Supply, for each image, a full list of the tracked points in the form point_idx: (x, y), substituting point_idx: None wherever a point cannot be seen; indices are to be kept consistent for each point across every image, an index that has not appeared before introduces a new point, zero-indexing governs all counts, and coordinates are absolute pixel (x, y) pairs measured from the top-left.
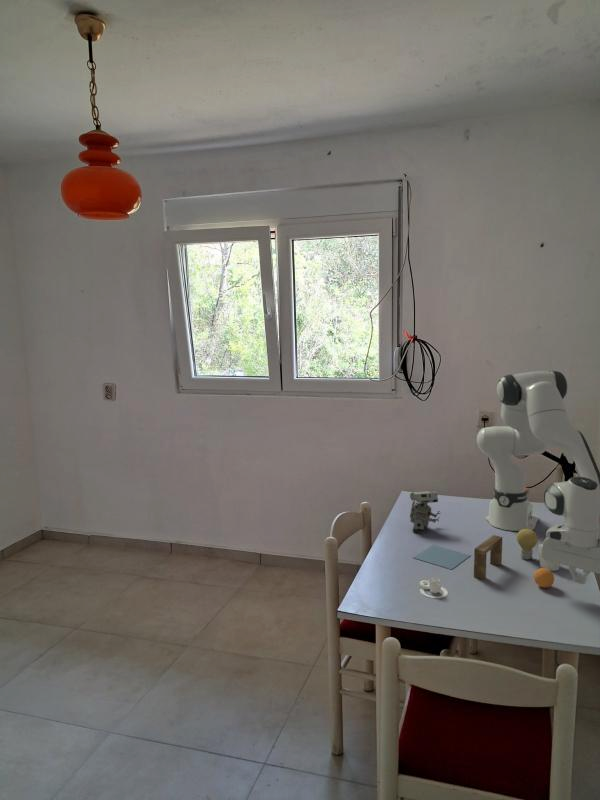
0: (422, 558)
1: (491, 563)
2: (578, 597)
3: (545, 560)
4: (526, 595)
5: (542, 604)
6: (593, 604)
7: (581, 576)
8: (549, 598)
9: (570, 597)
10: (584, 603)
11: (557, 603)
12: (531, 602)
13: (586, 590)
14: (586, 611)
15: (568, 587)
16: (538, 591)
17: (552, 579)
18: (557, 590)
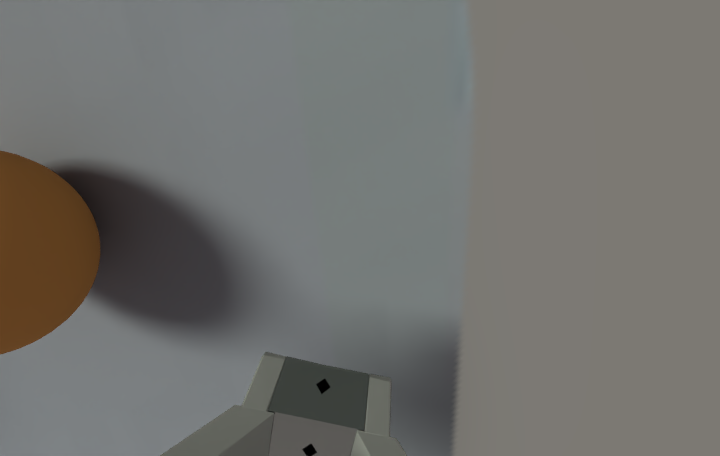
0: None
1: None
2: (346, 279)
3: None
4: (32, 388)
5: (158, 450)
6: (459, 341)
7: (334, 442)
8: (166, 373)
9: (290, 304)
10: (395, 351)
11: None
12: (98, 450)
13: (406, 102)
14: (410, 440)
15: (237, 118)
16: None
17: (65, 306)
18: (171, 229)
